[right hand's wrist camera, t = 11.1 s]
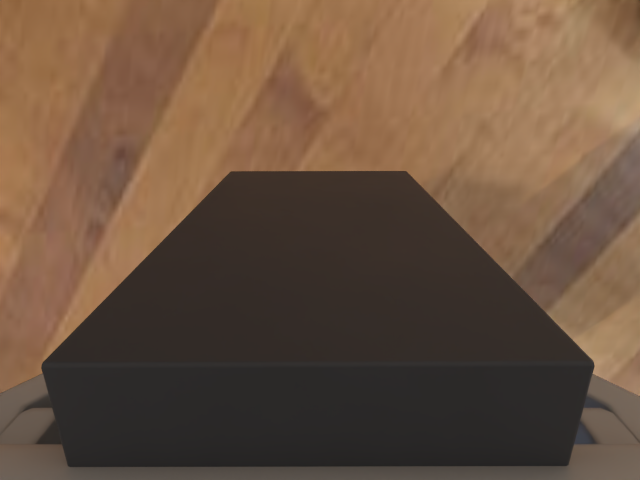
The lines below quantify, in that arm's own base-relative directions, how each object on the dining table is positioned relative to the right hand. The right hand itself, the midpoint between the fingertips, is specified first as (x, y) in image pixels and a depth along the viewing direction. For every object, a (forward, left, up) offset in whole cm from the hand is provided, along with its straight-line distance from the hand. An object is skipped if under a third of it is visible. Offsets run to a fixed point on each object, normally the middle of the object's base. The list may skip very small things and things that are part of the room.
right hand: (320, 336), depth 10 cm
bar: (-9, +5, -4) cm, 11 cm away
